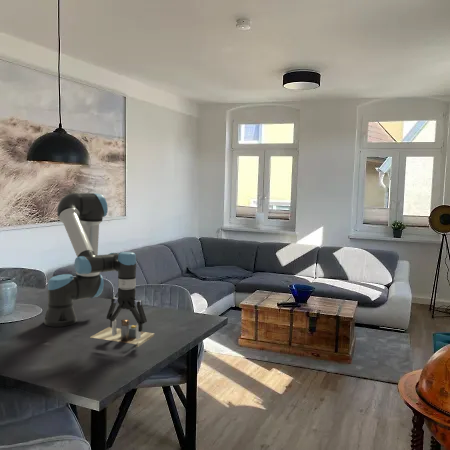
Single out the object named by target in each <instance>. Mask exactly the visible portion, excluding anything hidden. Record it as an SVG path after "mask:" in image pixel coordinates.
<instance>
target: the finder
mask: <svg viewBox="0 0 450 450" xmlns="http://www.w3.org/2000/svg"><path fill="white" fill-rule="evenodd" d="M136 325H137V324H135V325H134V324H129V337H130V338H136Z"/></svg>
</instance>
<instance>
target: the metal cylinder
mask: <svg viewBox="0 0 450 450" xmlns="http://www.w3.org/2000/svg"><path fill="white" fill-rule="evenodd" d="M120 324H121V325H120V326H121V327H120V329H121V341H123V342H122V343H124V342H127V341H129V325H130V319H127V318H124V319H122V320H121V323H120Z"/></svg>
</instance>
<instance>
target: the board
mask: <svg viewBox="0 0 450 450" xmlns="http://www.w3.org/2000/svg"><path fill="white" fill-rule="evenodd" d="M154 337H155V333H154V332H147V331H141V338H139V339H136V338H130V337H129V341H127V342H123V341H121V328H118V327H117V334H116V335H114V336H112V328H111V327H110V326H108V327H106V328H103V330H100V331H99V332H97V333H95V334H93V335H91V336H90V337H89V338H91V339H97V340H98V339H99V340H106V341H112V342H118V343H125V344H130V345H131V344H133V345H135V346H134V347H135V348H139V347H140V346H142V345H143V344H144V343H146V342H148V341H149V340H151V339H152V338H154Z"/></svg>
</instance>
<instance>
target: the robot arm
mask: <svg viewBox="0 0 450 450" xmlns="http://www.w3.org/2000/svg"><path fill="white" fill-rule="evenodd" d="M108 207H109V206H108V203H107V199H106V198H105V196H104V195H103V194H101V193H95V192H93V193H92V192H89V193H83V192H81V193H77V192H74V193H69V194H66V195H64V196H63V197H62V199H61V200H60V201H59V202H58V205H57V211H56V213H57V217H58V219H59V221H60V223H62V224H63V226H64V228H65V232H66V233H67V236H68V238H69V240H70V244H71V245H72V249H73V250H74V252H75V255H76V257H75V260H74V270H75V276H73V274H69V273H63V274H57V275H54V276H52V277H51V278H49V279H48V281H47V309H46V313H45V315H44V319H43V321H44V322H43V323H44V324H43V325H45V326H47V327H51V328H52V327H53V328H55V327H58V328H60V327H61V328H62V327H66V326H71V325H74V324H76V323H77V314H76V312H75V309H74V306H73V304H74V301H79V300H84V299H85V300H87V299H93V298H98V297H99V296H101V294H102V293H103V290H104V285H105V284H104V283H105V282H104V277H103V275H102V274H101V273H106V272H107V273H108V272H117V287H118V289H117V297H116V296H115V297H112V298H111V301H110V306H109V309H108V312H107V314H106V320H109V322H110V325H109V327H111V328H112V336H114V335H116V334H117V328H118V326H117V325H118V323H117V321H118V319H117V317H118V316H119V314H120V313H121V311H122V310H129V312H131V313H132V315H133V317H134V319H135V321H136V322H137V323H136V324H135V325H136V339H139V338H141V332H143V324H146V323H147V322H148V319H147V318H146V314H145V310H144V307H143V300H142V299H140V300H136V291H137V290H136V286H137V285H136V284H137V281H136V280H137V279H136V278H137V274H136V273H137V257H136V256H137V255H136V253H135V252H132V251H120V252H119V253H118V252H111V253H108V254H98V253H99V235H100V224H101V223H102V222H103V218H105V217H106V216H107V215H108ZM117 303H118V304H119V305H118V306H117ZM116 306H117V307H116Z"/></svg>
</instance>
